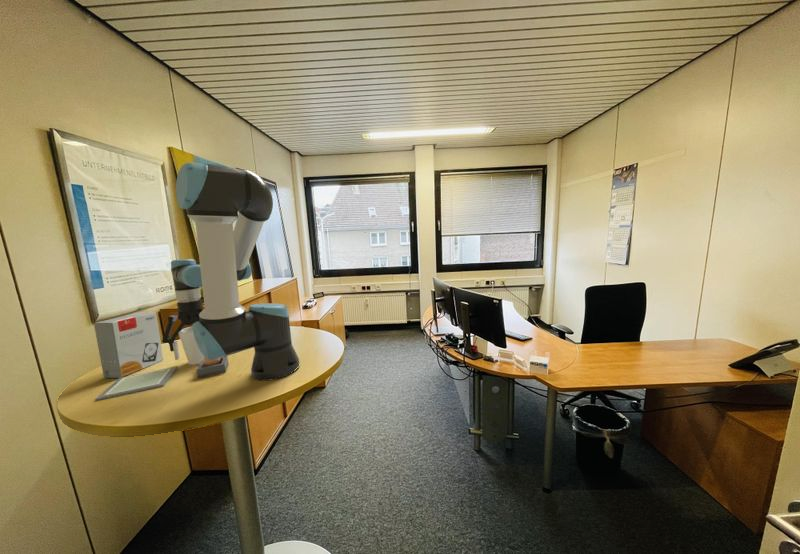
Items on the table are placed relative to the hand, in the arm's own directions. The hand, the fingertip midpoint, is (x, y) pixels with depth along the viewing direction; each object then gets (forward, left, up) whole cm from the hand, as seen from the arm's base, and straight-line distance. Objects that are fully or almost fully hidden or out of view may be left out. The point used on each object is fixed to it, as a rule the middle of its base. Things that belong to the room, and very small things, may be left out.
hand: (197, 355), depth 108 cm
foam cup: (0, 0, -3) cm, 3 cm away
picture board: (-11, +14, -2) cm, 18 cm away
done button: (-14, -7, 0) cm, 16 cm away
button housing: (-14, -7, -2) cm, 16 cm away
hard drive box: (+6, +21, -3) cm, 22 cm away
